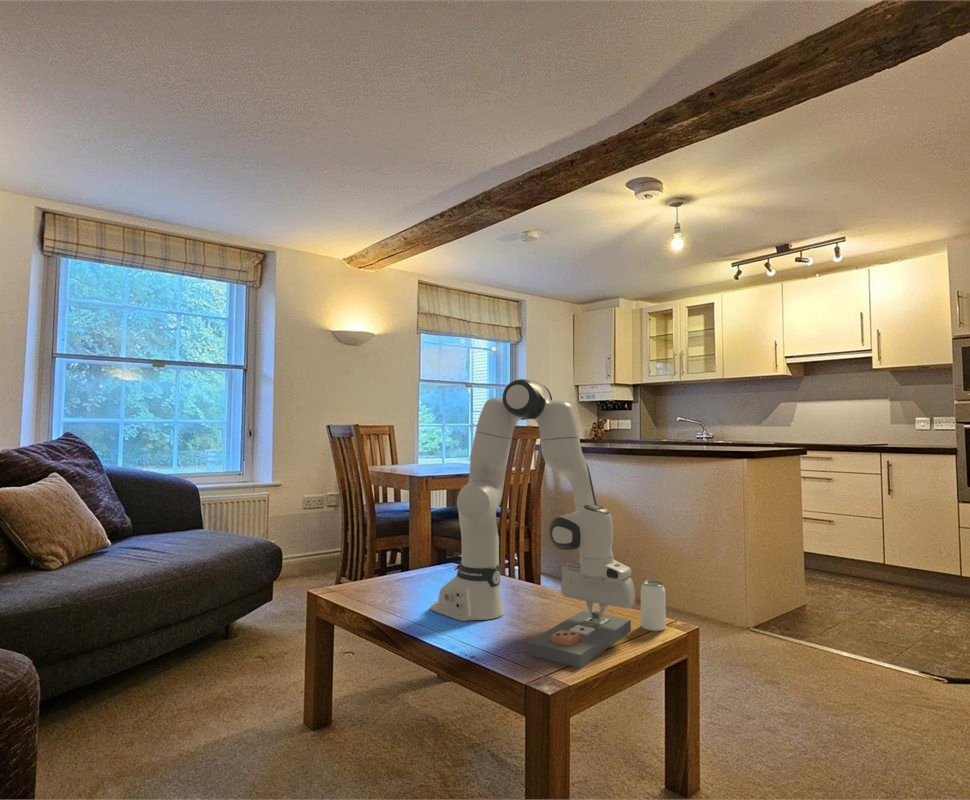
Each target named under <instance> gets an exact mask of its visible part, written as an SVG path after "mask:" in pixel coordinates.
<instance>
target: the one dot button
mask: <svg viewBox="0 0 970 800" xmlns="http://www.w3.org/2000/svg"><path fill="white" fill-rule="evenodd" d="M569 631H570V632H575V633H579V634H582V635H586V636H588V635H589V634H591V633H592V632H594V631H595V628H590V627H585V626H581V625H577V626H575V627H573V628H572V629H570V630H569Z"/></svg>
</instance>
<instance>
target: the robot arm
mask: <svg viewBox="0 0 970 800" xmlns="http://www.w3.org/2000/svg"><path fill="white" fill-rule="evenodd" d="M520 420H521V421H525V420H533V421H535V422H536V423H537V425H538V429H539V435H540V436H539V438H540V447H541V453H542V458H543V460H544V462H545V464H546V465H547V466H548V467H549V468H550V469H552V470H554V471H556V472H558V473H559V474H561V475H563V476H564V477H565V478H566V479H567V480H568V482H569V484H570V486H571V491H572V496H573V502H574V506H575V511H572V512H571V513H570V512H569V513H567V514H563V515H559V516H557V517H555V518H554V519H553V520H552V521H551V522H550V525H549V528H548V529H549V530H548V535H549V536H548V537H549V539H550V541H551V543H552V545H553V546H554V547H555V548H557V549H558V550H561V551H572V550H573V551H574V550H576V551H577V550H578V551H579V563H573V562H566V563H565V564H563V565H562V567H561V575H562V576H561V577H562V578H561V585H560V593H561V595H562V597H564V598H568V599H569V598H570V599H574V600H579V601H585V602H586V607H587V608H588V610H589V611H590V612H591V618H592V619H597V620H603V614H605V611H606V609H607V608H608V606H610V607H617V608H623V609H626V610H627V609H630V608H632V607H633V606H634V605H635V603H636V592H635V586H634V581H633V579H632V578H631V577H630V576H631V575H632V569H631V567H630V566H628V565H625V564H623V563H621V562H619V561H618V560H615V559H614V552H613V547H612V546H613V542H614V525H613V518H612V514H611V512H610V511H609V509H607V508H606V507H604V506H601V505H598V504H597V500H596V494H595V490H594V485H593V480H592V476H591V472H590V468H589V465H588V462H587V461H586V460H585V457H584V453H583V450H582V445H581V441H580V431H579V426H578V422H577V421H578V420H577V417H576V414H575V410H574V408H573V405H572V404H571V403H569V402H567V401H564V400H561V399H560V400H553V396H552V393H551V391H550V390H549V389H548V388H547V387H546V386H545V385H543V384H540V383H539V382H537V381H535V380H528V379H523V378H522V379H516V380H512V381H511V382H510V383H508V384H507V385H506V386H505V389H504V390H503V393H502V397H492V398H489V399H487V400H486V401H485V403H484V405H483V407H482V409H481V412H480V414H479V417H478V422H477V424H476V429H475V433H474V437H473V442H472V447H471V452H470V457H469V458H470V461H469V462H470V464H469V474H468V481H467V483H466V484H465V485H464V486H463V487H461V489H460V491H459V492H458V495H457V497H456V499H457V500H456V507H457V510H458V520H459V521H458V522H459V528H460V535H461V536H460V537H461V562H460V563H458V565H455V566H453V567H454V569H453V570H454V571H456V570H457V572H456V575H455V576H454V577H453V578H452V579H450V580H449V581H448V582H446V583H445V584H444V585H442V587H441V588H440V591H439V594H438V600H437V601H434V603H432V604H431V605H430V610H431V611H433V612H435V613H438V614H441V615H443V616H446V617H449V618H452V619H454V620H456V621H457V620H458V621H459V622H467V621H482V620H483V621H484V620H485V621H486V620H492V619H497V618H500V617H502V616H503V615H504V614H505V609H504V605H503V601H502V600H503V599H502V594H501V587H500V586H501V584H500V583H501V564H500V552H499V551H500V547H499V546H500V536H499V532H498V524H497V509H498V508H499V507H500V504H501V502H502V497H503V491H504V485H505V480H506V479H505V478H506V472H507V471H506V469H507V463H508V459H509V455H510V454H509V453H510V448H511V444H512V440H513V435H514V430H515V427H516V424H517V423H518V421H520ZM595 603H596V604H598V607H599V608H600V610H599V611H598V610H596V608H595V606H594V605H595Z"/></svg>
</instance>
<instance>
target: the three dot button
mask: <svg viewBox="0 0 970 800" xmlns="http://www.w3.org/2000/svg"><path fill="white" fill-rule="evenodd" d="M578 641H579V633H575V632H570V631H566V630H559V631H558V632H556V633H554V634H553V635H551V642H553V643H557V644H561V645H565V646H569V647H571V646H572V645H574V644H575V643H577V642H578Z"/></svg>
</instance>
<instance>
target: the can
mask: <svg viewBox="0 0 970 800" xmlns="http://www.w3.org/2000/svg"><path fill="white" fill-rule="evenodd" d="M666 623H667V621H666V589H665V587H664V583H663V582H660V581H657V580H644V581H642V582H641V587H640V626H641V628H642V629H644V630H645V631H648V630H649V632H662V631H665V629H666Z"/></svg>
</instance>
